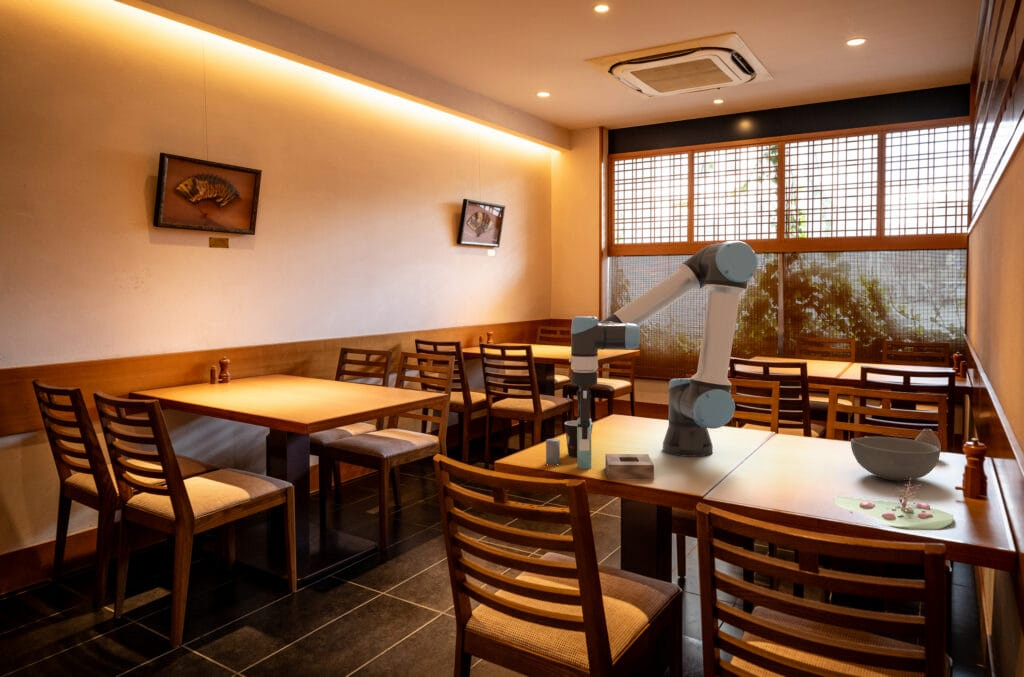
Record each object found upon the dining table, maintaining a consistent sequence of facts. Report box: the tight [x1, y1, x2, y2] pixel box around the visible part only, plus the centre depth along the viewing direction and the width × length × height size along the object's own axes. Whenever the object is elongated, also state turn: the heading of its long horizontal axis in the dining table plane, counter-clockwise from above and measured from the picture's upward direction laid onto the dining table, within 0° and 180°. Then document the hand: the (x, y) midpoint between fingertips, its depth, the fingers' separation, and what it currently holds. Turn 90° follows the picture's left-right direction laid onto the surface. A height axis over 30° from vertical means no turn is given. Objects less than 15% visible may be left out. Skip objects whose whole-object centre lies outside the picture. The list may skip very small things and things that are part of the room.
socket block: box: [604, 453, 655, 481], centre depth 186 cm, size 12×12×4 cm
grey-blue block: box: [545, 438, 561, 466], centre depth 197 cm, size 4×4×7 cm
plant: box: [833, 478, 954, 531], centre depth 152 cm, size 25×21×9 cm
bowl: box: [850, 436, 941, 482], centre depth 178 cm, size 20×20×10 cm
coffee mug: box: [564, 420, 594, 459], centre depth 208 cm, size 12×9×10 cm
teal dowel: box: [576, 417, 592, 470], centre depth 192 cm, size 4×4×14 cm
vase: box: [914, 428, 942, 452], centre depth 198 cm, size 7×7×9 cm
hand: (583, 444), depth 192 cm, fingers open, 13 cm apart
